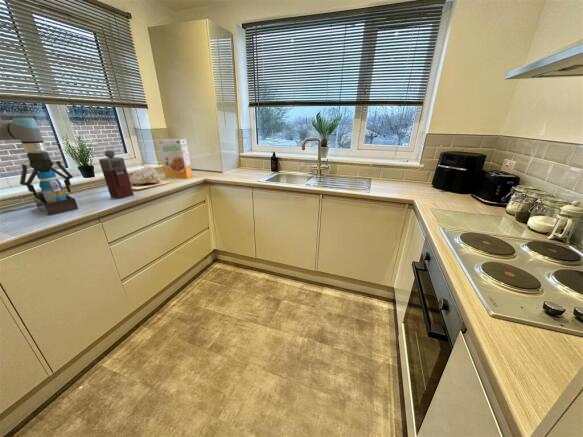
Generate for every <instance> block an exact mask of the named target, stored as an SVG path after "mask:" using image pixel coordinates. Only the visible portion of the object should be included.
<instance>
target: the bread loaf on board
mask: <svg viewBox="0 0 583 437" xmlns="http://www.w3.org/2000/svg"><path fill="white" fill-rule="evenodd" d="M129 180H130V183H131V187H132V190H143V189H147V188H151V187H156V186H160V185H161V186H162V185H166V184H170V183H171V184H172V181H166V180H162V179H161V176H160V174H159V173H158V171H157V170H156V169H155V168H154V167H152V166H146V167H143V168H141V169H140V170H134V171H133V174H132V175H131V176H130V177H129Z"/></svg>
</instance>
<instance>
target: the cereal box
mask: <svg viewBox="0 0 583 437" xmlns="http://www.w3.org/2000/svg"><path fill="white" fill-rule="evenodd" d="M157 145H158V150H159V155H160V159H161V164H162V168H163V172H164V177H165V178H168V179H169V178H171V179H185V180H186V179H191V178H193V171H192V165H191V160H190V154H189V149H188V148H189V147H188V143H187V139H186V138H174V139H173V138H169V139H168V138H166V139H164V138H162V139H157Z"/></svg>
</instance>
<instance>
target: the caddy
mask: <svg viewBox="0 0 583 437" xmlns="http://www.w3.org/2000/svg"><path fill="white" fill-rule="evenodd" d="M64 193H65V195H66V198H67V199H66V200H61V201H56V202H51V203H47V202H46V200H45V197H44V195H43V194H42V192H39V193H37V196H38V198H35V196H33V197H32V198H33V201H34V203H35V205H36V207H37V209H39V211H41V212H43V213H44V214H46V215H47V216H54V215H58V214H62V213H63V214H64V213H66V212H71V211H75V210H79V206H78V203H77V201H76V198H75V197H73V196H71V195H69V194H66V191H65V190H64Z"/></svg>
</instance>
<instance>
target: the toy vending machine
mask: <svg viewBox="0 0 583 437" xmlns="http://www.w3.org/2000/svg"><path fill="white" fill-rule="evenodd" d="M115 155H116V154H115V152H114V151H113V150H111V149H107V150H105V151H104V156H105V157H104V158H100V159H99V160H98V162H99V165H100V168H101V171H102V174H103V177H104V181H105V183H106V187H107V190H108V193H109V196H110V198H111V199H118V200H120V199H125V198H128V197H132V196H134V195H135V194H134V191H133V190H134V189H132V187H131V183H130V177H129V173H128V169H127V165H126V162H125V159H124V158H123V157H119V156H115Z"/></svg>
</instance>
